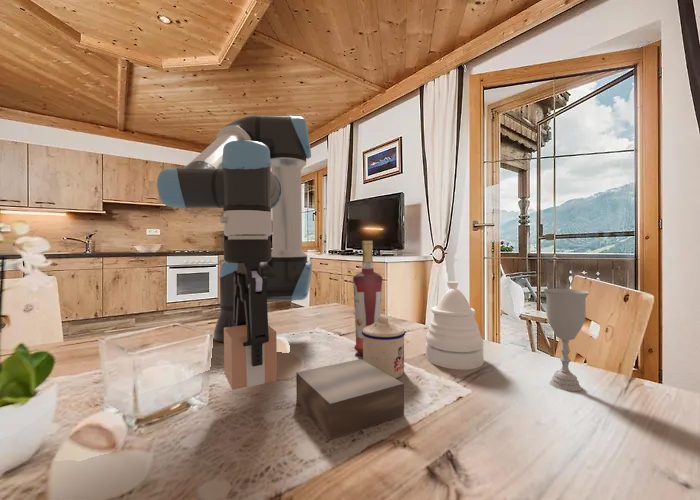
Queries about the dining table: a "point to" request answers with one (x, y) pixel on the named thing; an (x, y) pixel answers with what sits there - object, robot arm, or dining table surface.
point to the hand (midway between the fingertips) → (249, 375)
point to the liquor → (366, 295)
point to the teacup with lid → (384, 347)
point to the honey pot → (454, 333)
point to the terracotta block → (237, 356)
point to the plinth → (349, 396)
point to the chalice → (566, 329)
